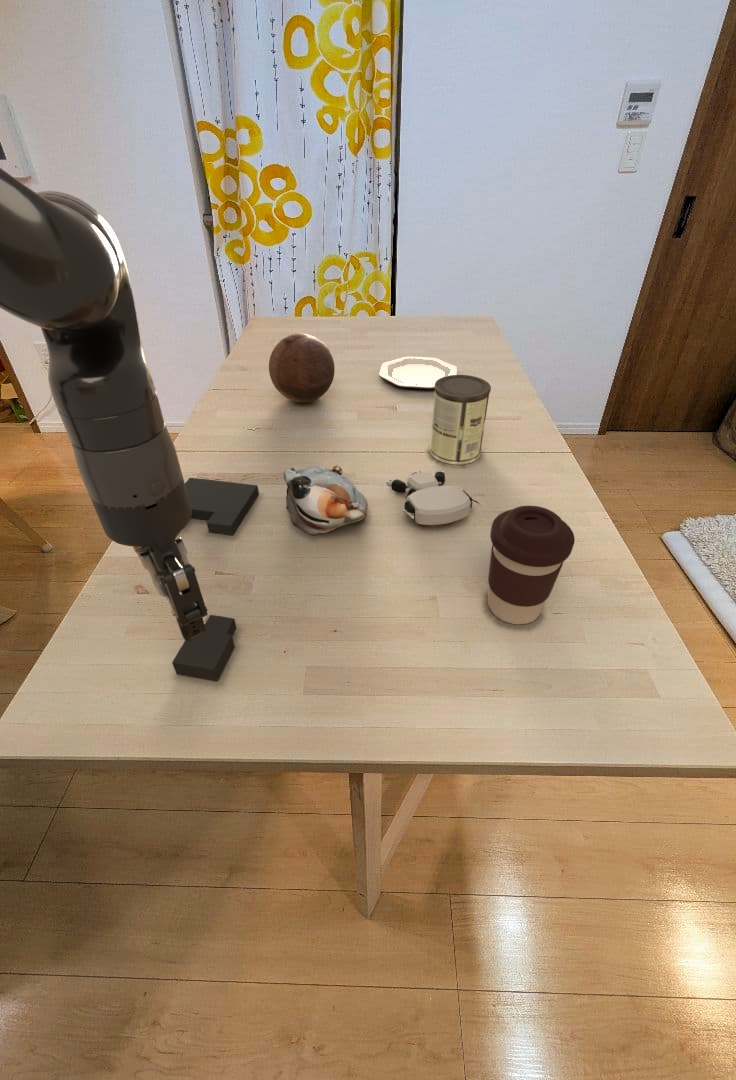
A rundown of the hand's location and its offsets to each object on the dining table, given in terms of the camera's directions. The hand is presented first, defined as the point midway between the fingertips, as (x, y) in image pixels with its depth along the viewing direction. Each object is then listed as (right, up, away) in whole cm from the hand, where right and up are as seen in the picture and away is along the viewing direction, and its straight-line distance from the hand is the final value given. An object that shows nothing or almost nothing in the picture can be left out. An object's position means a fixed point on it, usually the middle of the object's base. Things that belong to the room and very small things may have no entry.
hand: (179, 609), depth 54 cm
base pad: (-8, +12, +36) cm, 38 cm away
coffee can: (+37, +25, +51) cm, 68 cm away
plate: (+33, +50, +80) cm, 100 cm away
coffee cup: (+40, -2, +18) cm, 44 cm away
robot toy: (+30, +13, +36) cm, 49 cm away
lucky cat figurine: (+13, +10, +33) cm, 37 cm away
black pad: (0, -7, +12) cm, 14 cm away
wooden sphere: (+4, +41, +70) cm, 81 cm away
